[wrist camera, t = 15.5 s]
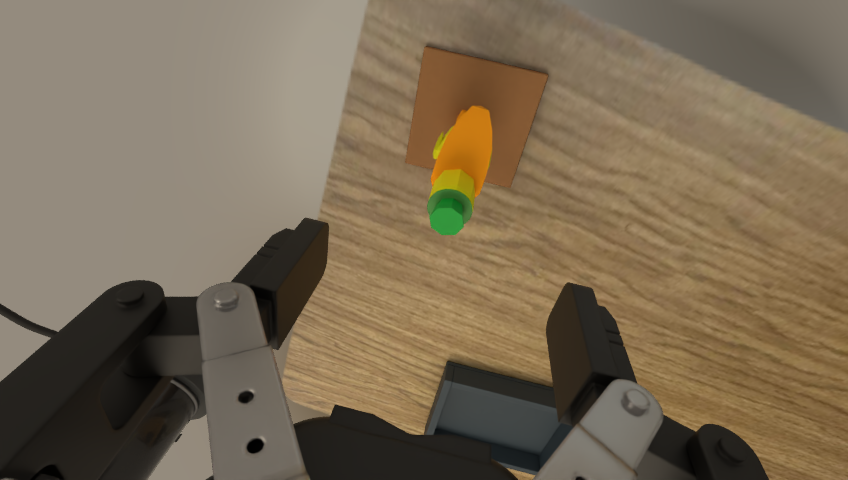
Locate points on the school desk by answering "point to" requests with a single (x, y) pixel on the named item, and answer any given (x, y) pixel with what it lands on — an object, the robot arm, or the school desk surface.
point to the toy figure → (460, 170)
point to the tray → (498, 416)
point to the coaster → (474, 86)
